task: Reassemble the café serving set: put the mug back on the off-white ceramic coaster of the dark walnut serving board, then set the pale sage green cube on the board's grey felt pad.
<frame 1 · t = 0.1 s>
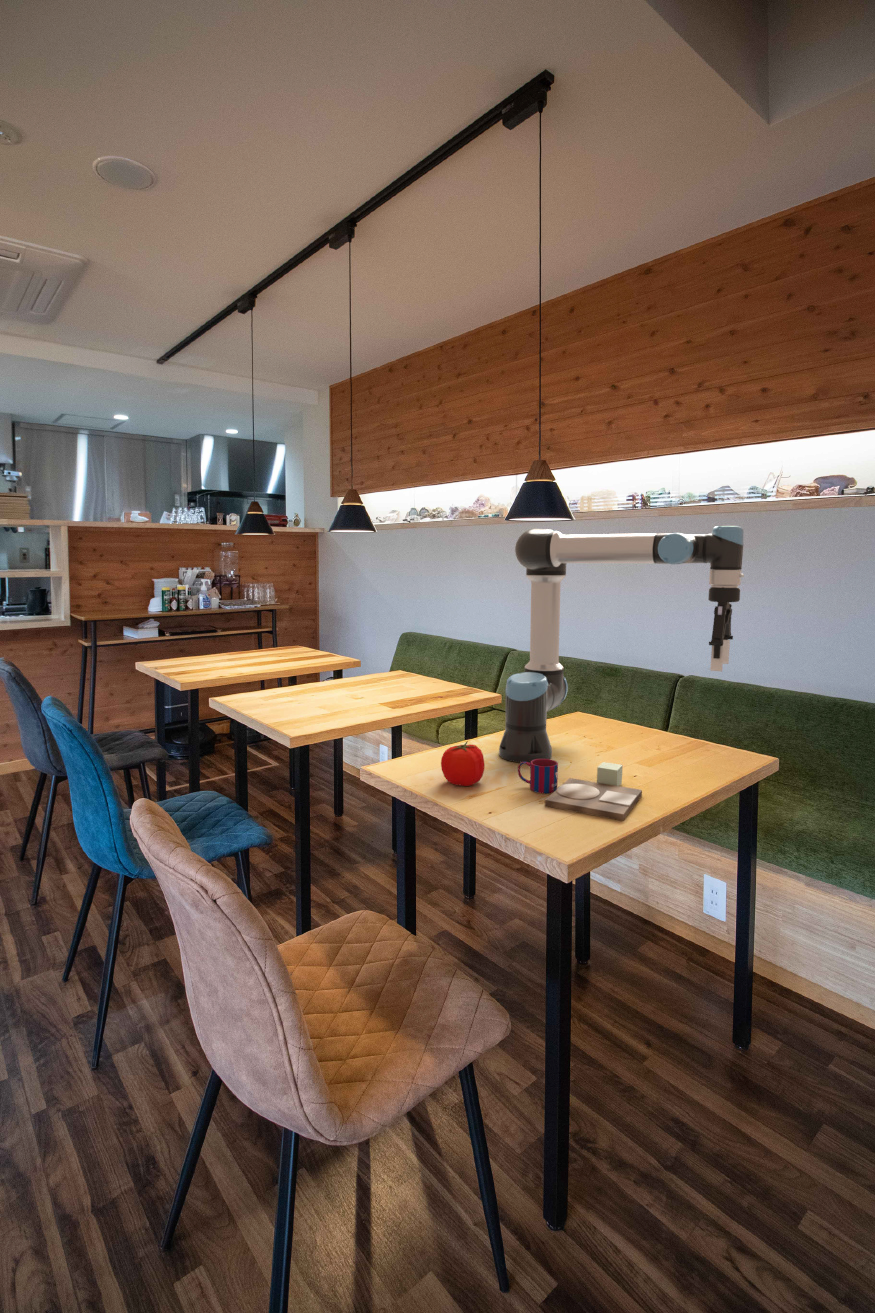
hand: (719, 667, 178), 28 cm above the table, fingers open, 13 cm apart
pale sage green cube: (609, 785, 170), on the table
mug: (537, 788, 168), on the table
tomato: (462, 784, 171), on the table
board: (594, 800, 159), on the table
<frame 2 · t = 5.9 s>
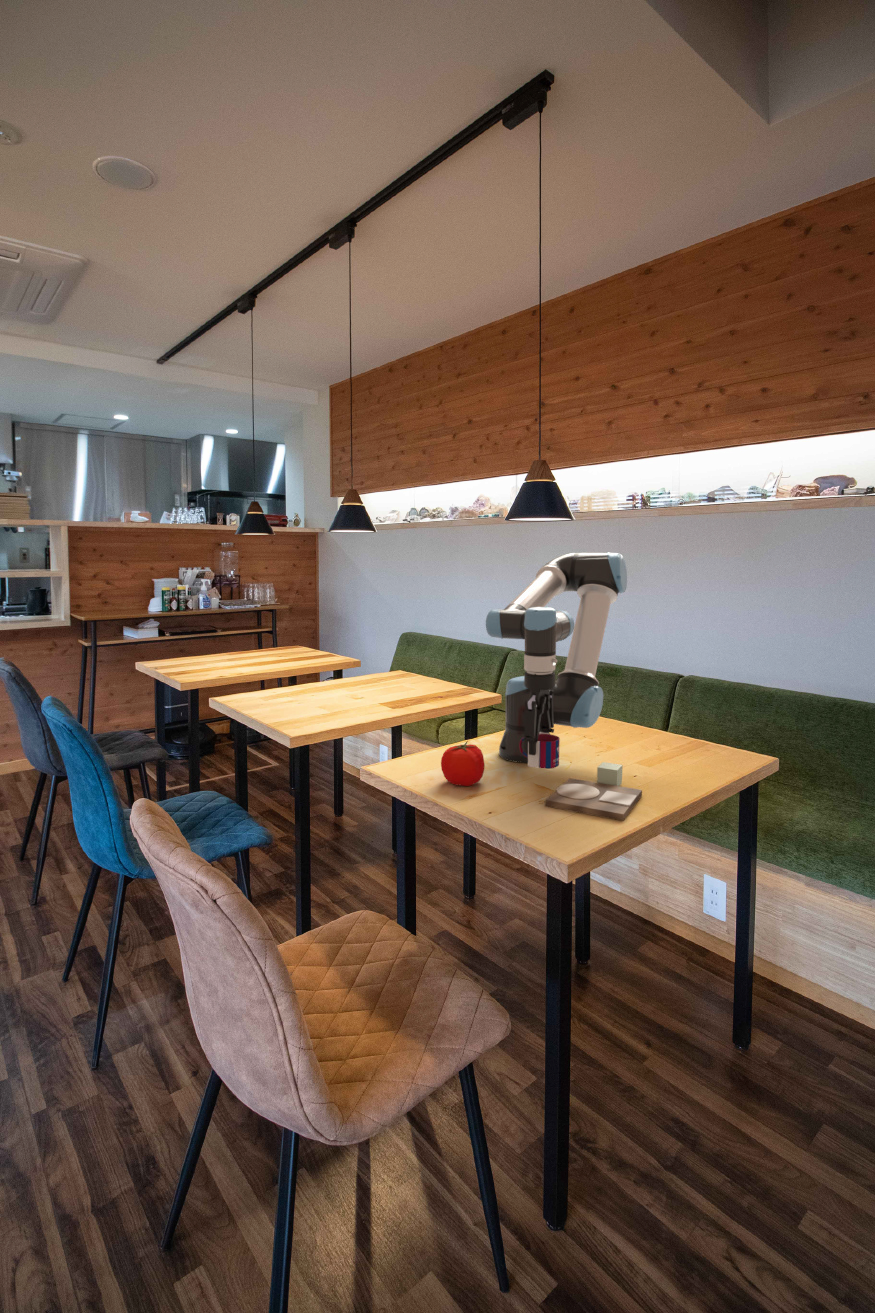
hand: (539, 762, 167), 6 cm above the table, fingers closed on mug, 7 cm apart
mug: (539, 764, 168), point 6 cm above the table, touching gripper
everything else where it was.
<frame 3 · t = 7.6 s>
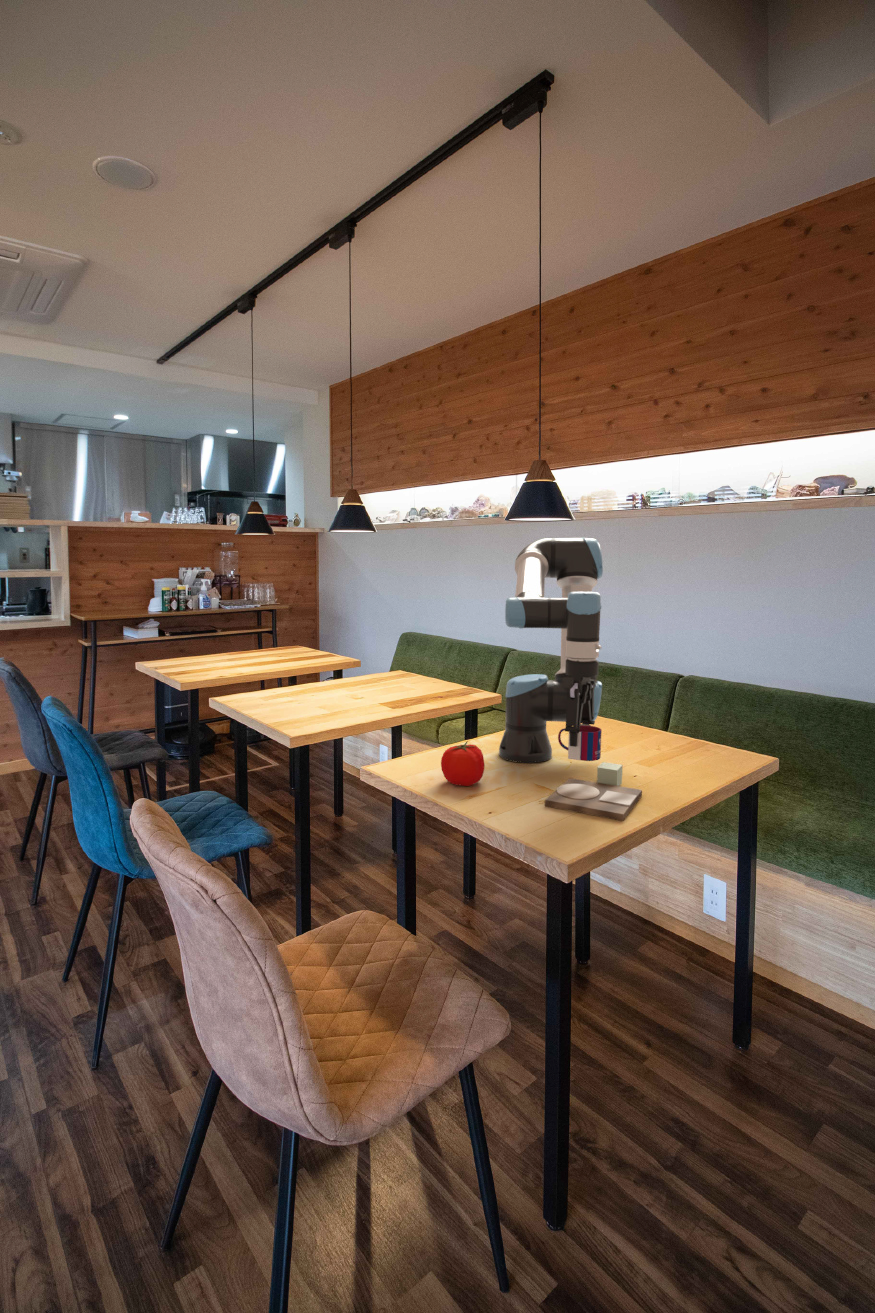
hand: (579, 754, 159), 11 cm above the table, fingers closed on mug, 7 cm apart
mug: (578, 756, 159), point 10 cm above the table, touching gripper
everything else where it was.
when the fingers open (2 cm above the table, at t = 9.3 s): mug stays where it is, resting on board.
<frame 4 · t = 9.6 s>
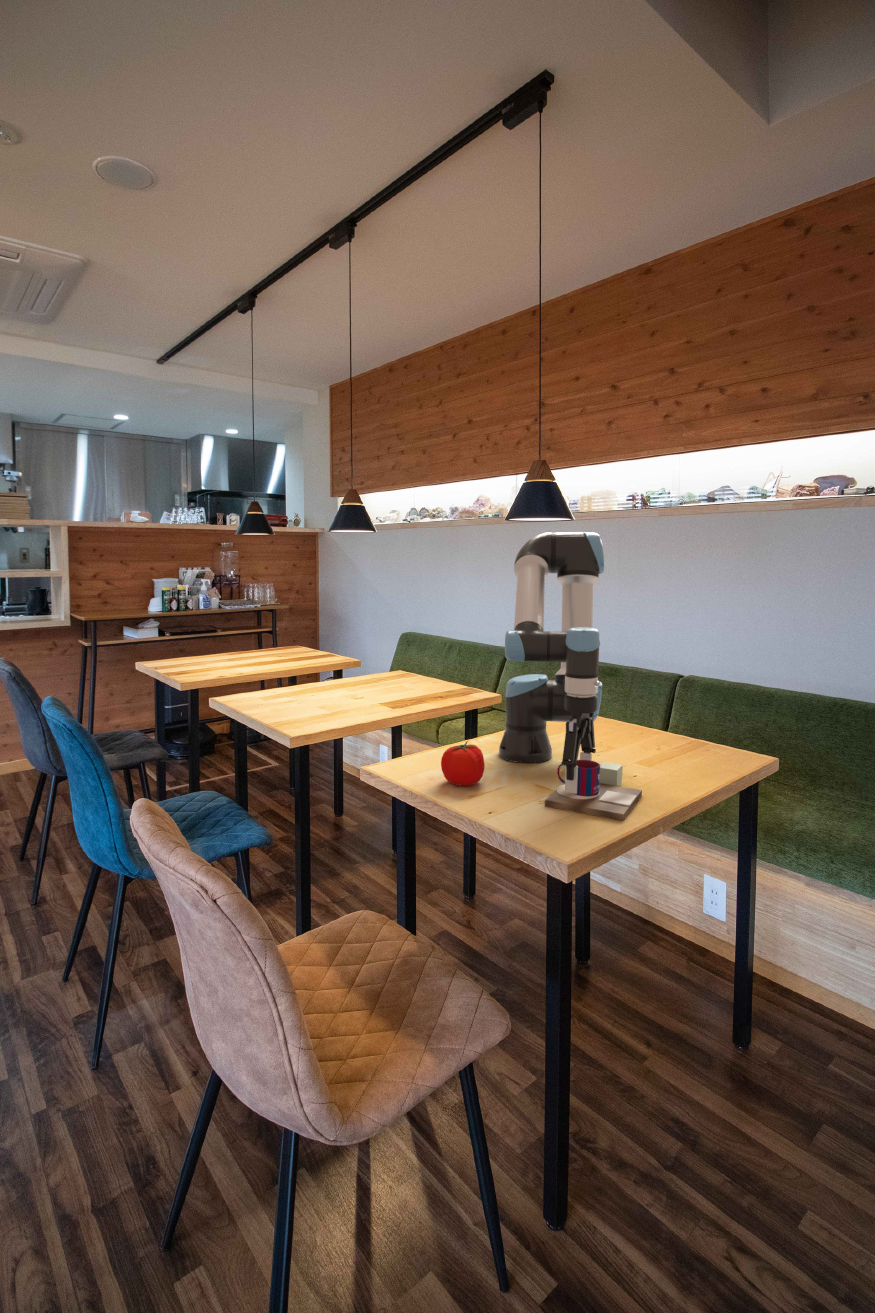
hand: (578, 785, 160), 3 cm above the table, fingers open, 10 cm apart
mug: (577, 791, 161), point 2 cm above the table, touching board
everything else where it was.
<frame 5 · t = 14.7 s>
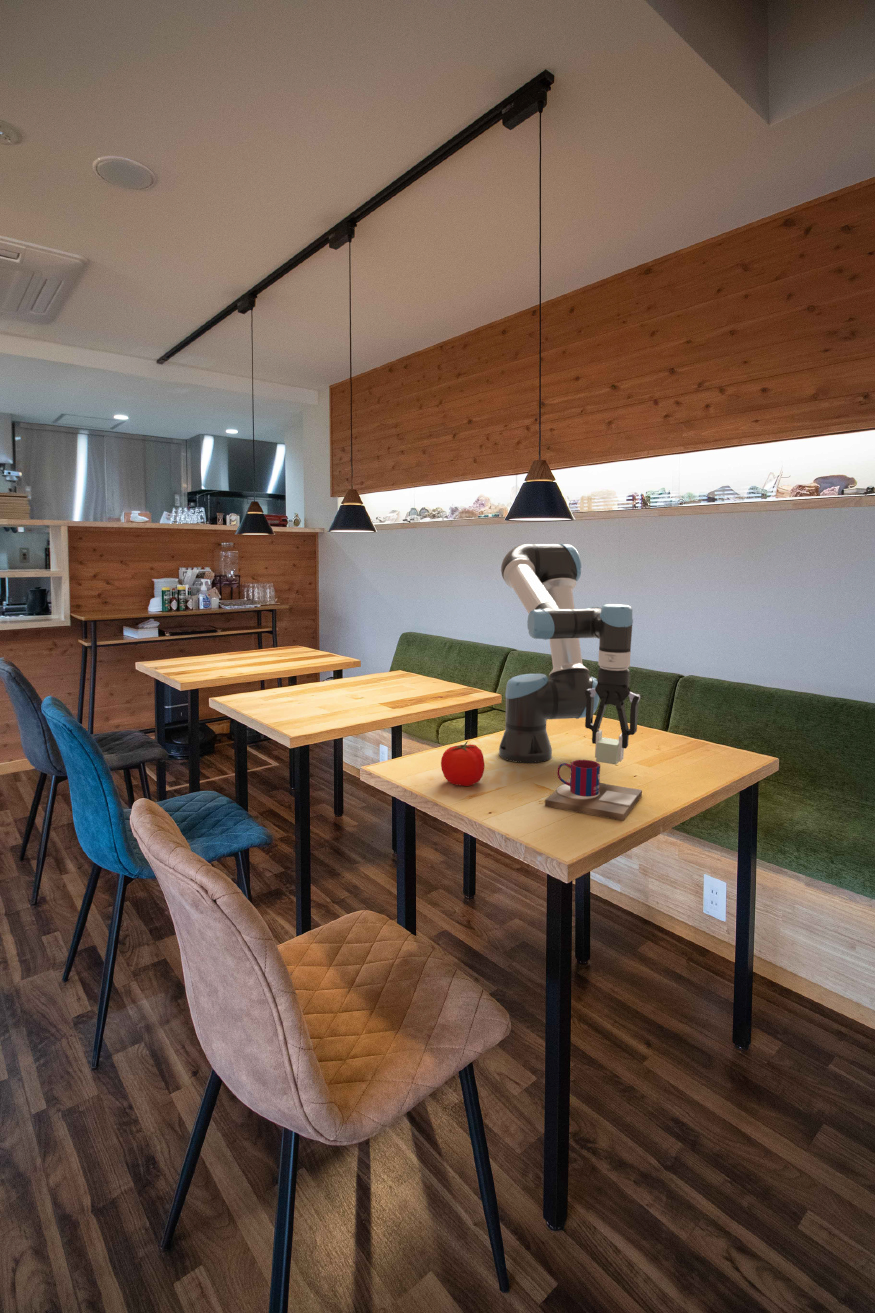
hand: (609, 757, 170), 7 cm above the table, fingers closed on pale sage green cube, 5 cm apart
pale sage green cube: (608, 760, 169), point 6 cm above the table, touching gripper
everything else where it was.
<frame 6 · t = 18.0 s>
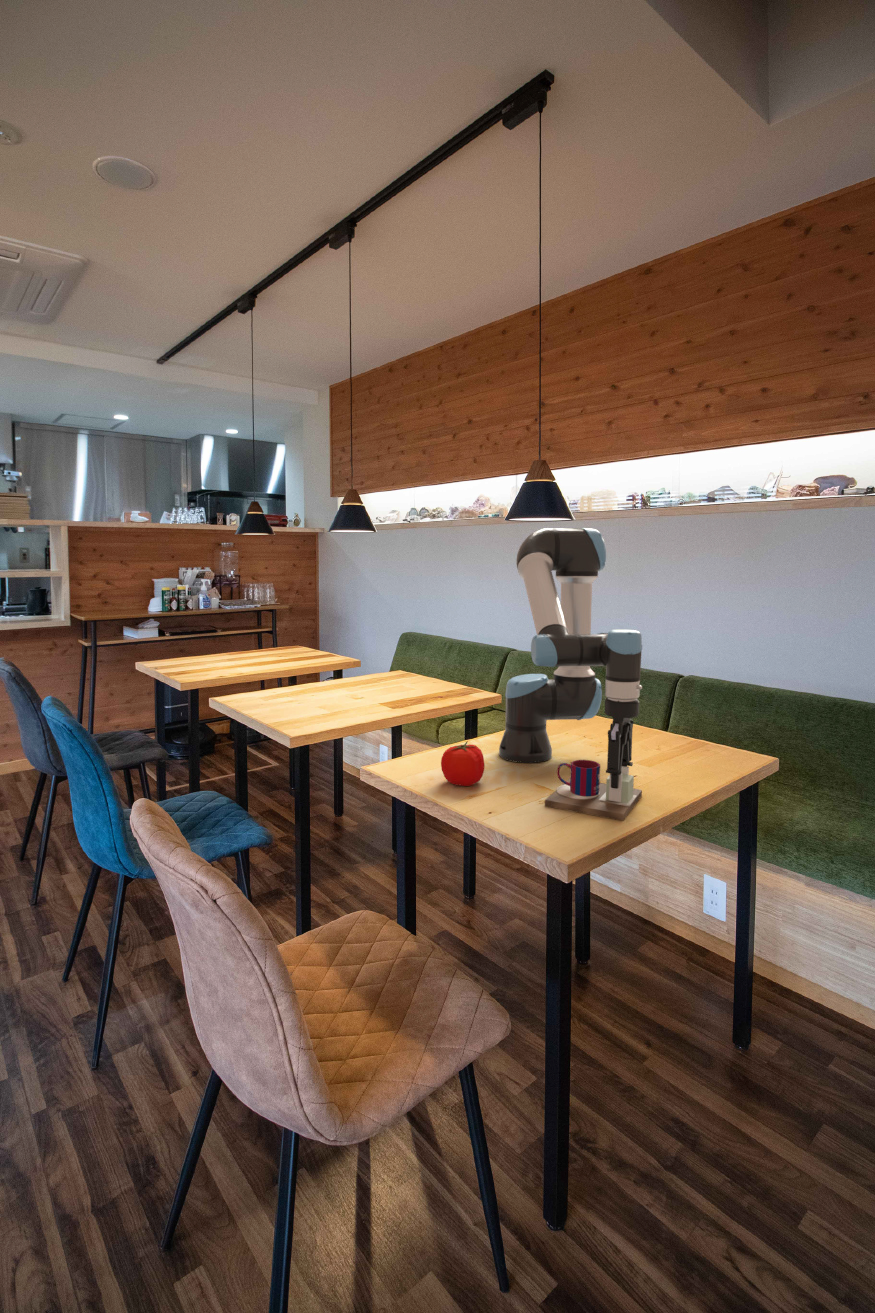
hand: (618, 796, 156), 2 cm above the table, fingers closed on pale sage green cube, 5 cm apart
pale sage green cube: (619, 798, 156), point 2 cm above the table, touching board, gripper
everything else where it was.
when the fingers open (2 cm above the table, at t = 18.3 s): pale sage green cube stays where it is, resting on board.
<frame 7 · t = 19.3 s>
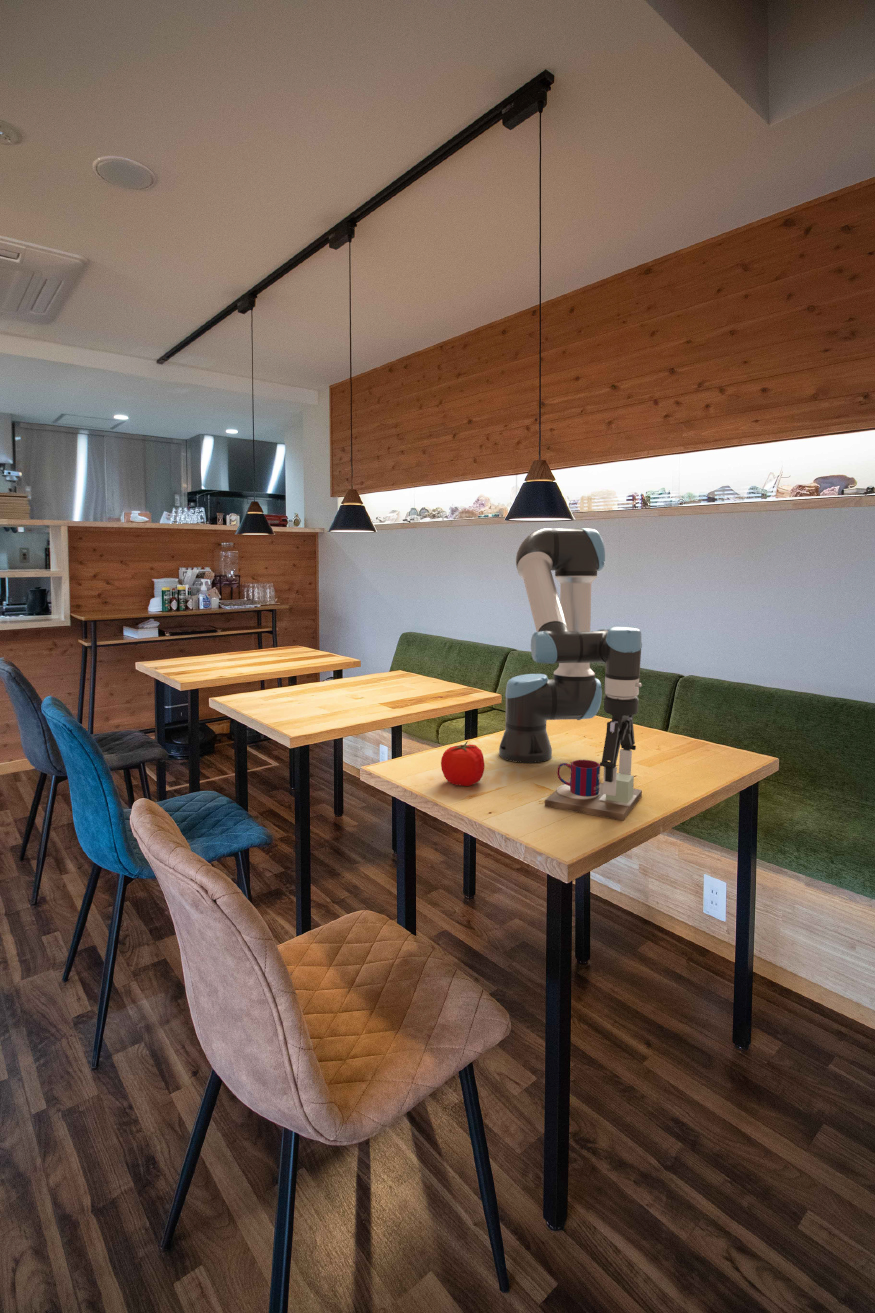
hand: (617, 785, 156), 5 cm above the table, fingers open, 13 cm apart
pale sage green cube: (619, 798, 156), point 2 cm above the table, touching board
everything else where it was.
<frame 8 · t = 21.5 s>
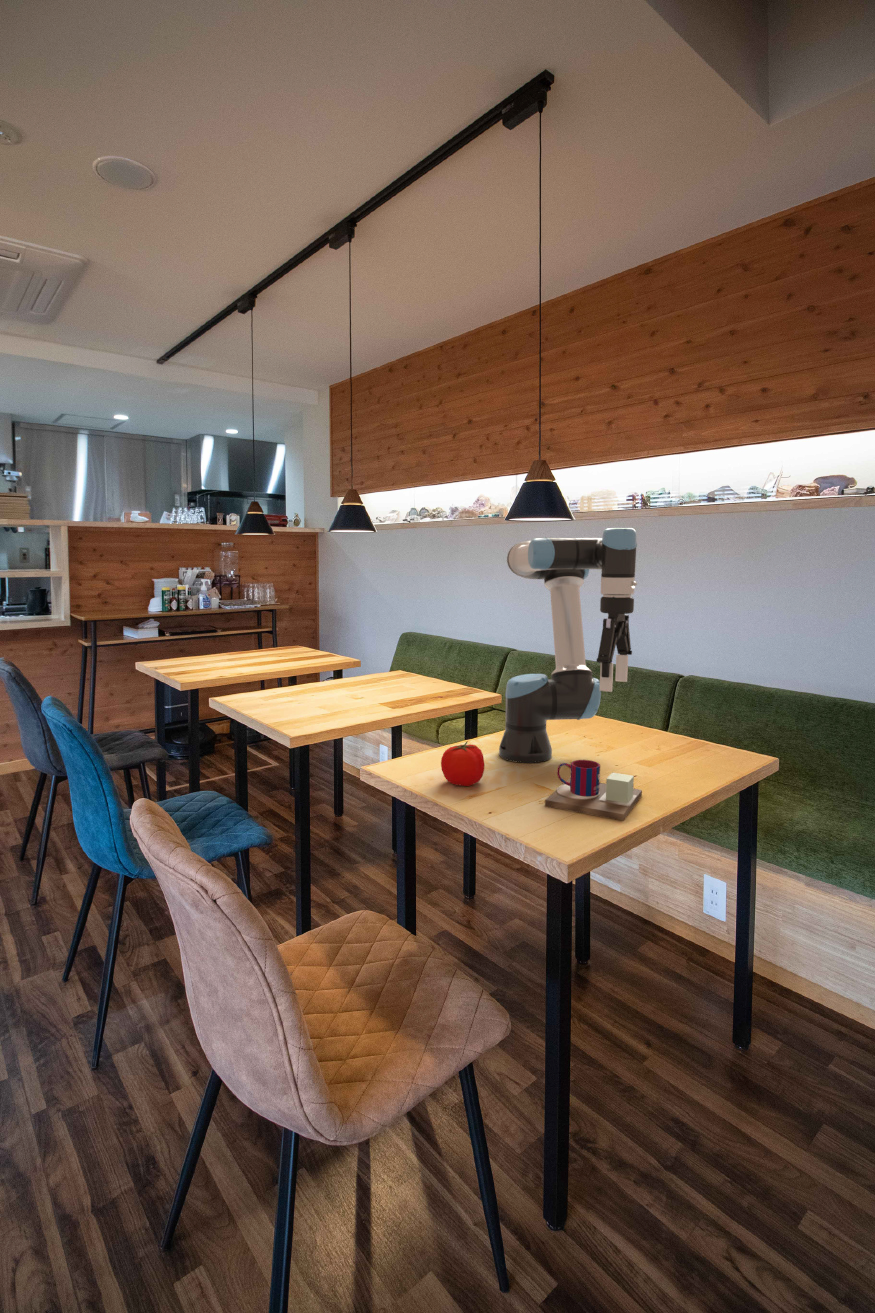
hand: (613, 686, 159), 27 cm above the table, fingers open, 13 cm apart
nothing on the table moved.
at the end: mug inside the target area on the board (0.1 cm from its centre), point 1.6 cm above the board's base; mug tilted 0°; pale sage green cube inside the target area on the board (0.4 cm from its centre), point 1.8 cm above the board's base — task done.
